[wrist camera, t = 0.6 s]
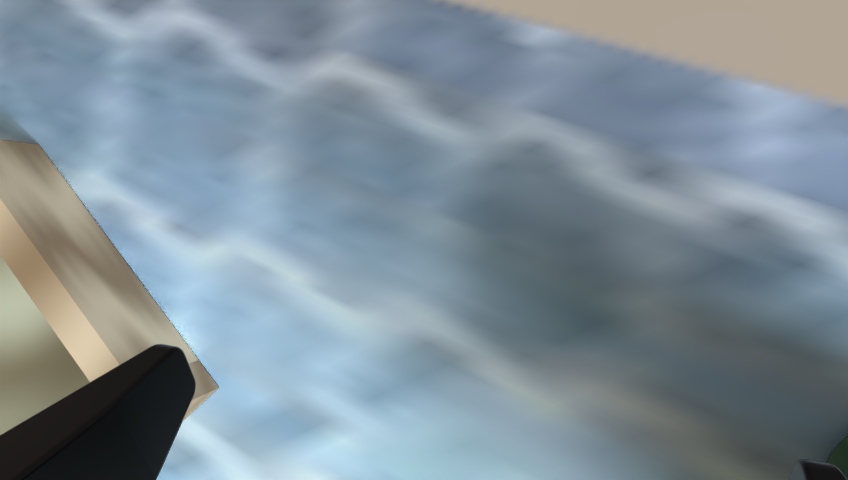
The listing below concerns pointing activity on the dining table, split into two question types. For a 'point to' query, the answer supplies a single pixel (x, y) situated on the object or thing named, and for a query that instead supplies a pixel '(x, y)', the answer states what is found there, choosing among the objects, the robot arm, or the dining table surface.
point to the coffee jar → (840, 457)
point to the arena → (65, 294)
